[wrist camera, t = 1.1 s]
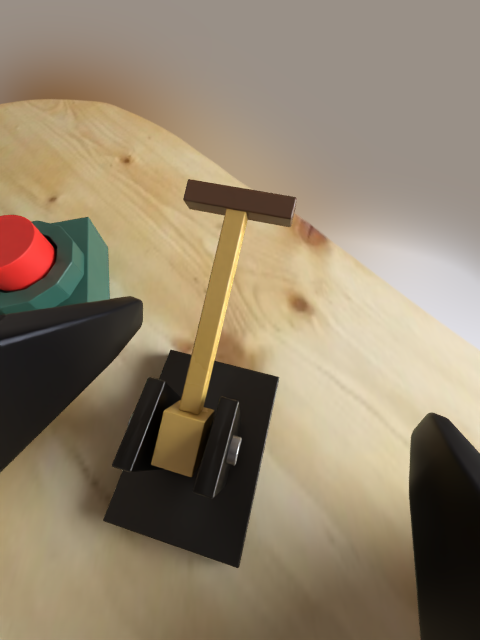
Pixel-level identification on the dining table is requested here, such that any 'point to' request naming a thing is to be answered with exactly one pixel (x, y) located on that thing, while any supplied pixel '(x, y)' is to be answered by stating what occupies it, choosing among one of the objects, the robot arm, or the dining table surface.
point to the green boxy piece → (66, 270)
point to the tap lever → (212, 317)
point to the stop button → (23, 253)
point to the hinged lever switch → (213, 471)
